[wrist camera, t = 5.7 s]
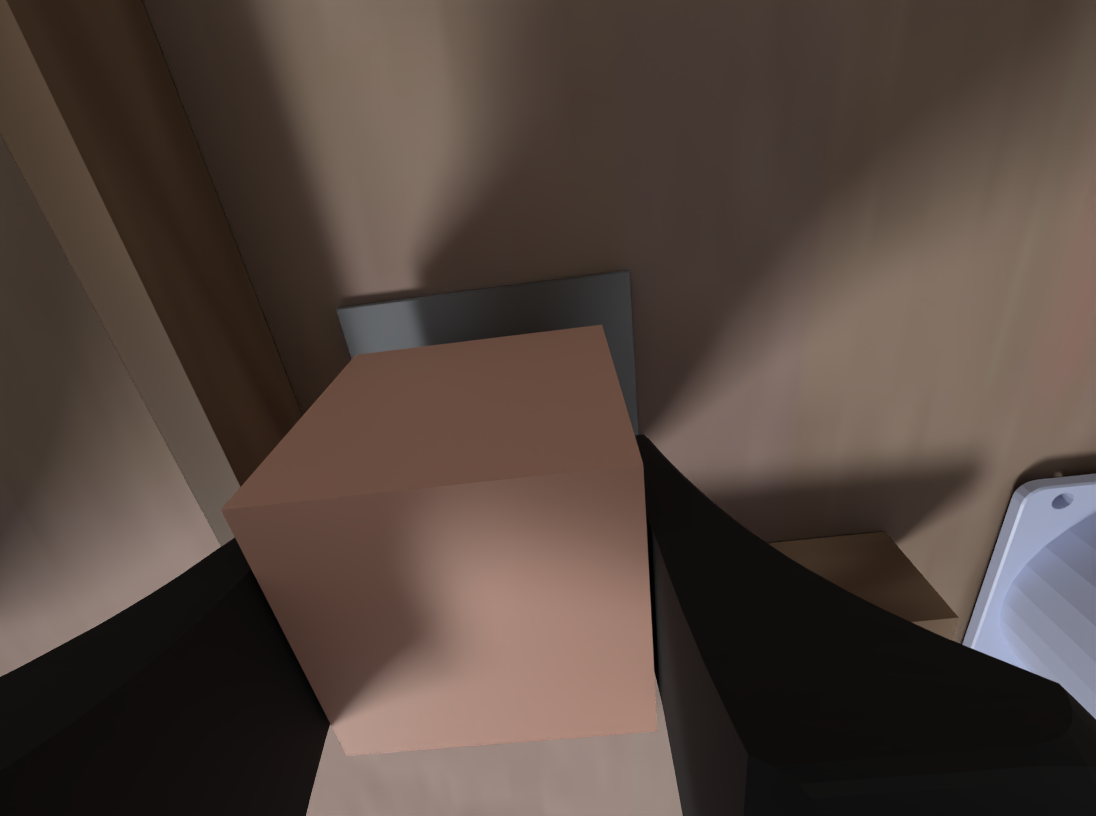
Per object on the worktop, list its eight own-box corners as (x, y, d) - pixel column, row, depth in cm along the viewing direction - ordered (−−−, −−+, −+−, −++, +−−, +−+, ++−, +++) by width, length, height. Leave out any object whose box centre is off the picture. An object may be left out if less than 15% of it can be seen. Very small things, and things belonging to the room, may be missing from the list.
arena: (1099, -499, 7) (1444, -894, 4) (879, 558, 15) (949, 646, 13) (-33, -274, 8) (-332, -485, 5) (344, 610, 16) (305, 703, 14)
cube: (601, 324, 10) (643, 464, 6) (618, 522, 13) (657, 731, 8) (355, 354, 11) (220, 509, 6) (415, 543, 13) (346, 755, 9)
